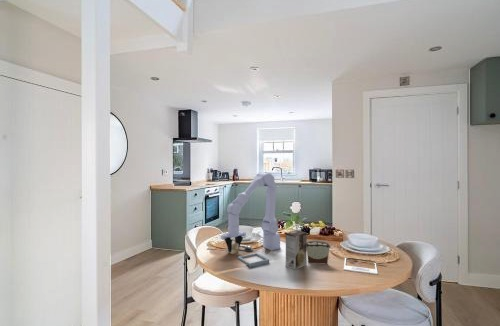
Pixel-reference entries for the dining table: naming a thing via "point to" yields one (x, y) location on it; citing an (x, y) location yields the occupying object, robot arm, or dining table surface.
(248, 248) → the crank lever
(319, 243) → the food container
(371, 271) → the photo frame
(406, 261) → the dining table surface
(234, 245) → the block
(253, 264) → the tray
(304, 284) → the dining table surface
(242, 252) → the board
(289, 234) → the coffee box
